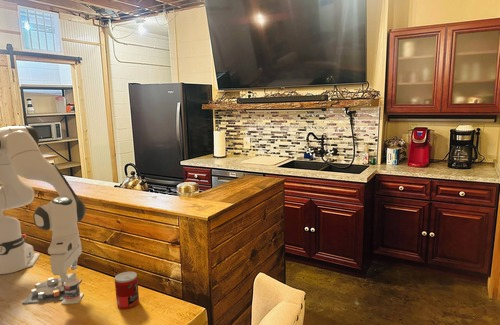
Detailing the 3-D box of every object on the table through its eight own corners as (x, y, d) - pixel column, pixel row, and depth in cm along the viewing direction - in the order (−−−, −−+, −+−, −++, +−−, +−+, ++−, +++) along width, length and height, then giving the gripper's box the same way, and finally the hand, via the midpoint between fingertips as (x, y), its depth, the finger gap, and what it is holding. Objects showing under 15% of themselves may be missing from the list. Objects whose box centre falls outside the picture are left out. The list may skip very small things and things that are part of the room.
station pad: (67, 296, 137) (67, 294, 137) (83, 294, 138) (83, 293, 137) (61, 304, 131) (61, 302, 131) (78, 303, 132) (78, 301, 132)
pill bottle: (63, 302, 131) (60, 279, 130) (66, 295, 136) (64, 273, 135) (78, 299, 133) (76, 277, 131) (81, 292, 138) (79, 271, 136)
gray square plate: (41, 283, 148) (41, 282, 148) (83, 280, 150) (82, 278, 150) (22, 304, 132) (22, 302, 132) (68, 300, 134) (68, 298, 134)
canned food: (132, 310, 126) (130, 281, 124) (112, 308, 127) (109, 280, 126) (143, 299, 133) (141, 271, 131) (124, 297, 135) (121, 270, 133)
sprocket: (29, 288, 142) (27, 267, 141) (70, 277, 151) (67, 257, 150) (34, 303, 130) (31, 280, 129) (77, 290, 139) (75, 268, 138)
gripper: (67, 231, 141) (71, 263, 143) (45, 251, 121) (49, 289, 123) (84, 230, 142) (87, 262, 144) (64, 250, 122) (68, 287, 124)
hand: (69, 275), depth 133 cm, fingers open, 8 cm apart
